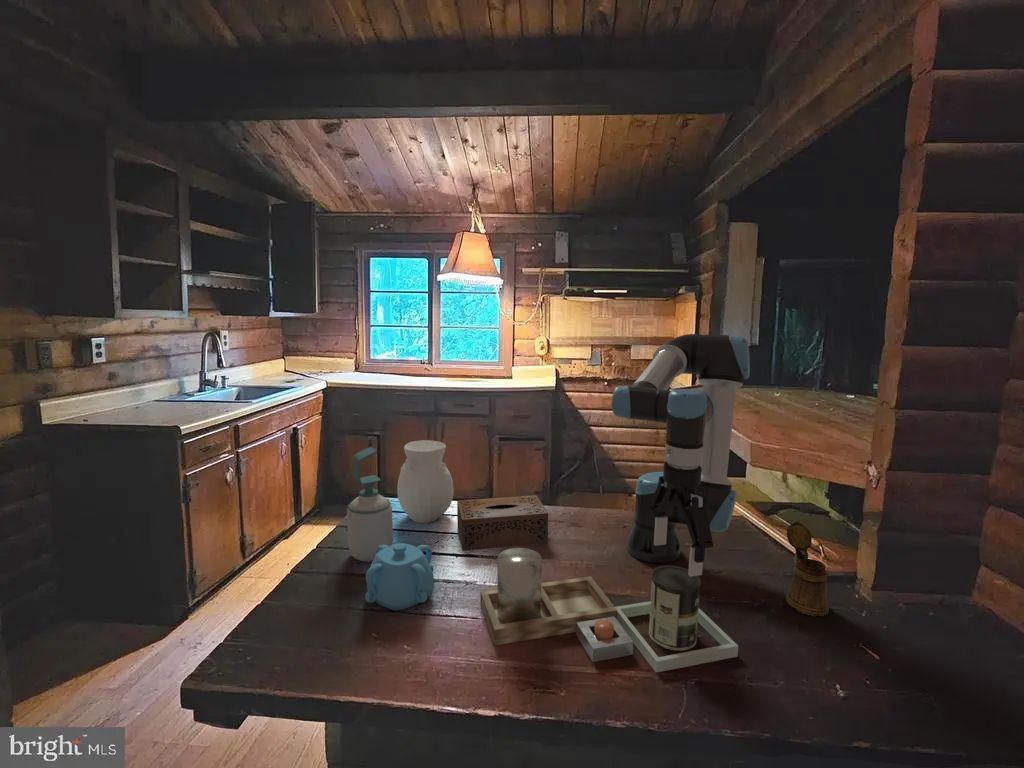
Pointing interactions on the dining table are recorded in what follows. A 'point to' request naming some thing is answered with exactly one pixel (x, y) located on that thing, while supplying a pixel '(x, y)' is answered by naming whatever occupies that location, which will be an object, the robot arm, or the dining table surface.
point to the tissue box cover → (501, 522)
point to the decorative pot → (400, 576)
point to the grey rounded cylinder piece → (518, 585)
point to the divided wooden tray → (551, 611)
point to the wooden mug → (806, 575)
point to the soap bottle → (368, 515)
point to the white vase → (425, 481)
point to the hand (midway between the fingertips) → (676, 558)
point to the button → (604, 630)
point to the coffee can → (674, 608)
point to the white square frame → (681, 659)
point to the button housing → (604, 641)
